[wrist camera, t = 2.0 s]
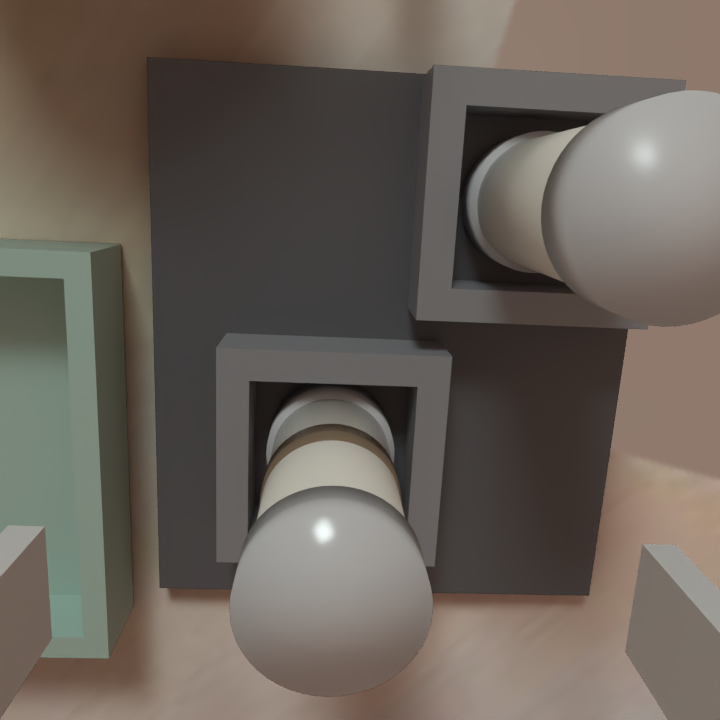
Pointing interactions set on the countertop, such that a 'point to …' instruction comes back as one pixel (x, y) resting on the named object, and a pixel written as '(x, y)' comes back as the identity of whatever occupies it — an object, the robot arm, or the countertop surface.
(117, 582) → the parts tray
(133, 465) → the countertop surface
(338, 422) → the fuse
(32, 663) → the robot arm
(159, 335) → the block
